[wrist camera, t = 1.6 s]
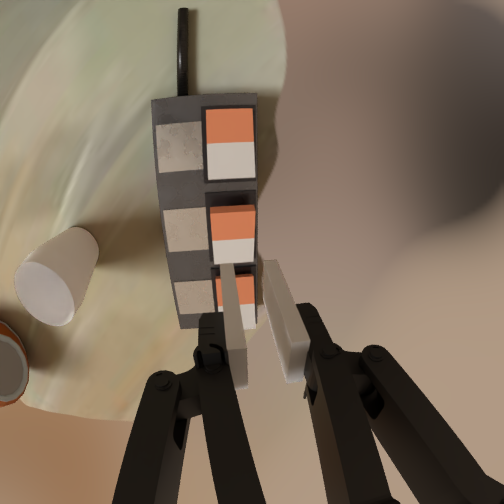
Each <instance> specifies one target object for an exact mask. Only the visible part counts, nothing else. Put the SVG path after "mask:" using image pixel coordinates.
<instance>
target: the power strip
mask: <svg viewBox="0 0 504 504" xmlns="http://www.w3.org/2000/svg"><path fill="white" fill-rule="evenodd" d="M151 107H152V128H153V144H154V157H155V168H156V179H157V189H158V198H159V206H160V214H161V222H162V229H163V236H164V242H165V249H166V255H167V261H168V267H169V273H170V279H171V284H172V289H173V295H174V300H175V305H176V310H177V315H178V319H179V324H180V328H181V329H191V328H199V319H200V317H201V315H202V314H203V313H208V312H218V301H217V290H216V276H221V275H220V264H214V255H213V243H212V230H211V217H210V207H220V206H237V205H254V207H255V211H256V213H255V236H254V260H253V262H242V263H233V265H234V272H235V275H240V274H253V276H254V300H255V324H257V234H258V233H257V232H258V231H257V230H258V229H257V228H258V227H257V225H258V224H257V223H258V221H257V220H258V219H257V217H258V216H257V215H258V214H257V213H258V208H257V93H226V94H205V95H191V96H188V8H180V9H178V31H177V97H170V98H162V99H154V100H151ZM241 108H252V111H253V133H254V155H255V178H238V179H218V180H208V162H207V132H206V110H213V109H241Z"/></svg>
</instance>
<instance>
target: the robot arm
mask: <svg viewBox="0 0 504 504" xmlns="http://www.w3.org/2000/svg"><path fill="white" fill-rule="evenodd" d="M220 275H221V289H222V302H223V312H208V313H203V314H202V315H201V317H200V319H199V331H198V334H199V336H198V346H197V347H196V349H195V350H194V353H193V357H194V362H195V366H194V367H193V368H192V369H190V370H189V371H187V372H184V373H181V374H178V375H176V374H174V373H173V372H171V371H167V370H164V371H158V372H155V373H153V374H152V375H151V376H150V377H149V379H148V380H147V383H146V386H145V389H144V392H143V395H142V398H141V401H140V404H139V407H138V411H137V414H136V417H135V420H134V424H133V427H132V430H131V434H130V437H129V441H128V444H127V447H126V451H125V455H124V458H123V462H122V465H121V469H120V473H119V477H118V481H117V485H116V489H115V493H114V497H113V501H112V504H177V498H178V492H179V485H180V479H181V472H182V466H183V459H184V453H185V448H186V442H187V435H188V430H189V424H190V419H191V418H192V417H195V416H197V415H201V414H202V417H203V424H204V430H205V436H206V442H207V448H208V454H209V459H210V465H211V470H212V476H213V481H214V485H215V490H216V495H217V500H218V504H266V501H265V498H264V495H263V491H262V488H261V485H260V482H259V478H258V475H257V471H256V468H255V464H254V461H253V457H252V453H251V450H250V446H249V442H248V439H247V435H246V431H245V427H244V423H243V419H242V416H241V412H240V408H239V404H238V399H237V395H236V391H235V390H237V389H248V370H247V346H246V340H245V334H244V328H243V322H242V316H241V310H240V303H239V297H238V291H237V285H236V278H235V272H234V265H233V263H223V264H220ZM263 301H264V305H265V309H266V312H267V316H268V319H269V323H270V327H271V330H272V334H273V337H274V341H275V344H276V348H277V351H278V355H279V358H280V363H281V366H282V370H283V373H284V377H285V380H286V383H294V382H300V381H303V377H304V376H305V378H306V381H307V383H306V387H305V391H304V397H303V398H304V399H305V398H306V396H307V399H308V403H309V408H310V413H311V418H312V423H313V428H314V433H315V438H316V443H317V447H318V453H319V458H320V464H321V469H322V474H323V479H324V485H325V490H326V496H327V501H328V504H400V502H399V501H397V500H395V499H393V497H392V496H391V493H390V490H389V486H388V483H387V479H386V476H385V472H384V469H383V466H382V462H381V459H380V456H379V453H378V450H377V446H376V443H375V440H374V437H373V434H372V431H373V432H374V434H375V435H376V437H377V439H378V440H379V442H380V443H381V445H382V446H383V448H384V449H385V451H386V452H387V454H388V455H389V457H390V458H391V460H392V462H393V463H394V465H395V466H396V468H397V469H398V471H399V472H400V474H401V476H402V477H403V479H404V480H405V482H406V483H407V485H408V486H409V488H410V490H411V491H412V493H413V494H414V496H415V497H416V499H417V500H418V502H419V503H420V504H504V485H503V484H501V483H499V482H498V481H496V480H494V479H492V478H490V477H489V476H487V475H486V474H485V473H484V472H483V470H482V469H481V467H480V466H479V465H478V463H477V462H476V460H475V459H474V458H473V456H472V455H471V454H470V452H469V451H468V450H467V449H466V447H465V446H464V444H463V443H462V442H461V440H460V439H459V438H458V437H457V435H456V434H455V433H454V432H453V430H452V429H451V428H450V426H449V425H448V424H447V422H446V421H445V420H444V419H443V417H442V416H441V415H440V414H439V412H438V411H437V410H436V409H435V407H434V406H433V405H432V404H431V402H430V401H429V400H428V399H427V397H426V396H425V395H424V394H423V392H422V391H421V390H420V389H419V388H418V386H417V385H416V384H415V383H414V382H413V380H412V379H411V378H410V377H409V375H408V374H407V373H406V372H405V371H404V369H403V368H402V367H401V366H400V365H399V364H398V363H397V361H396V360H395V359H394V358H393V356H392V355H391V354H390V353H389V352H388V351H387V350H386V349H385V348H383V347H382V346H379V345H369V346H367V347H365V348H364V349H363V351H362V353H361V352H348V351H344V350H342V348H341V347H340V346H339V345H337V344H335V343H333V342H332V340H331V338H330V336H329V333H328V331H327V329H326V327H325V325H324V323H323V322H322V319H321V317H320V316H319V313H318V311H317V309H316V308H315V307H314V306H313V305H311V304H310V303H301V304H295V302H294V300H293V297H292V295H291V292H290V290H289V288H288V286H287V283H286V281H285V278H284V276H283V274H282V271H281V269H280V267H279V264H278V262H277V260H266V261H263ZM371 429H372V431H371Z"/></svg>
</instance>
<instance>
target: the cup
mask: <svg viewBox="0 0 504 504" xmlns="http://www.w3.org/2000/svg"><path fill="white" fill-rule="evenodd" d="M98 256H99V248H98V244H97V242H96V240H95V238H94V237H93V236H92V235H91V234H90V233H89V232H88V231H87V230H85V229H83V228H80V227H71V228H69V229H67V230H65V231H64V232H62V233H60V234H59V235H57V236H55V237H54V238H52V239H50V240H49V241H47V242H46V243H44V244H42V245H41V246H39V247H38V248H36V249H35V250H33V251H32V252H31V253H30V254H29V255H28V256H27V257H26V259H25V260H24V261H23V263H22V264H21V265H20V266H19V267H18V269H17V270H16V273H15V277H14V285H15V290H16V293H17V296H18V298H19V300H20V302H21V303H22V305H23V306H24V307H25V309H26V310H27V311H28V312H29V313H30V314H31V315H32V316H33V317H35V318H36V319H38V320H39V321H41V322H43V323H45V324H48V325H51V326H63V325H65V324H67V323H69V322H70V321H71V319H72V318H73V316H74V315H75V313H76V311H77V310H78V308H79V307H80V306H81V304H82V302H83V300H84V297H85V294H86V291H87V288H88V285H89V282H90V279H91V276H92V273H93V271H94V268H95V265H96V262H97V260H98Z"/></svg>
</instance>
